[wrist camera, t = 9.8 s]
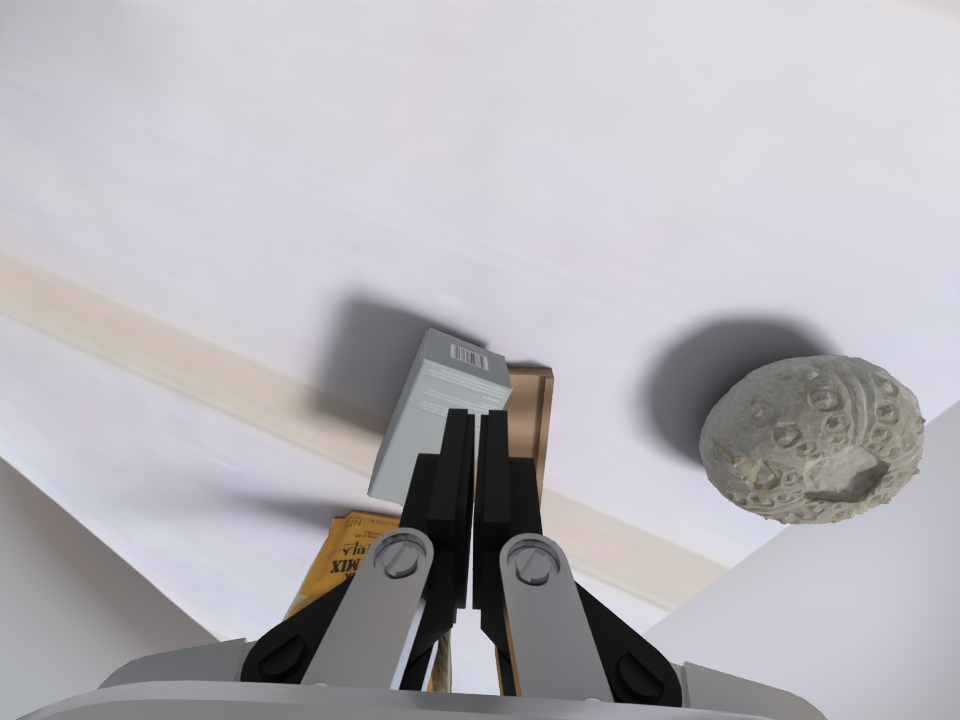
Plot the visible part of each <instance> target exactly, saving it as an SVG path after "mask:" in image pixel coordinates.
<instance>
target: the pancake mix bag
mask: <svg viewBox="0 0 960 720" xmlns="http://www.w3.org/2000/svg"><path fill="white" fill-rule="evenodd" d="M400 520H401V517H394V516H386V515H381V514H376V513H370V512H363V511H350V512H349V514H348V515H347V516H346V517H345V518H332V522H331V526H330V531H329V536H328V538H327V539H326V541H325V542H324V544H323V546H322V547H321V549H320V551H319V553H318V555H317V556H316V558H315V560H314V562H313V563H312V565H311V567H310V569H309V571H308V573H307V575H306V577H305V579H304V581H303V583H302V585H301V587H300V589H299V591H298V593H297V595H296V597H295V599H294V600H293V602H292V604H291V606H290V607H289V609H288V611H287V613H286V615H285V617H284V619H283V621H285V620H286V619H288V618H289V617H291V616H292V615H294V614H295V613H297V612H298V611H300V610H301V609H303V608H304V607H306V606H307V605H309V604H310V603H312V602H313V601H315V600H316V599H318V598H319V597H321V596H322V595H324V594H325V593H327V592H328V591H330V590H331V589H333V588H334V587H336V586H337V585H339V584H340V583H342V582H343V581H345V580H346V579H348V578H349V577H351V576H352V575H354V574H355V573H356V572H357V570H358V568H359V566H360V564H361V562H362V560H363V558H364V556H365V554H366V552H367V550H368V549H369V547H370V546H371V544H372V543H373V541H374V540H376V539H377V538H378V537H379V536H380V535H382V534H383V533H385V532H388V531H390V530H392V529H397V528H398V527H399V523H400ZM283 621H282V622H283ZM450 635H451V629H450V630H449V631H448V632H446V633H445V634H444V635H443V636H442V637H441V638H440V639H439V640H438V648H437V653H436V656H435V660H434V664H433V668H432V671H431V675H430V679H429V683H428V686H427V690H426V691H427V692H445V693H451V685H452V668H451V646H450Z"/></svg>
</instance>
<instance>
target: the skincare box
mask: <svg viewBox="0 0 960 720" xmlns="http://www.w3.org/2000/svg"><path fill="white" fill-rule="evenodd" d="M511 392H512V384H511V380H510V376H509V373H508V369H507V365H506V361H505V357H504V356H501V355H499V354H495V353H493V352H490V351H488V350H485V349H483V348H480V347H478V346H476V345H473V344H471V343H468V342H466V341H463V340H461V339H458V338H456V337H453V336H451V335H448V334H446V333H443V332H441V331H438V330H436V329H434V328H429V329H428V330H427V331H426V332H425V334H424V336H423V339H422V341H421V343H420V346H419V349H418V351H417V354H416V356H415V359H414V361H413V364H412V366H411V369H410V371H409V374H408V377H407V379H406V382H405V384H404V387H403V389H402V392H401V394H400V397H399V400H398V402H397V405H396V407H395V410H394V412H393V415H392V417H391V420H390V423H389V425H388V428H387V430H386V433H385V435H384V438H383V440H382V443H381V446H380V448H379V451H378V454H377V457H376V461H375V465H374V469H373V473H372V476H371V480H370V484H369V489H368V493H367V495H368V496H369V497H373V498H377V499H381V500H386V501H390V502H394V503H398V504H400V505H401V506H403V507H404V505H405V501H406V497H407V493H408V490H409V486H410V482H411V478H412V474H413V471H414V467H415V463H416V459H417V456H418V454H419V453H431V454H440V450H441V445H442V440H443V435H444V430H445V424H446V419H447V414H448V410H449V408H458V409H468V414H475V461H476V459H477V457H478V449H479V435H480V421H481V414H484V415H488V412H489V410H502V409H503V407H504V405H505V403H506V401H507V400H508V398H509V396H510V394H511Z"/></svg>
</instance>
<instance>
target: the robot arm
mask: <svg viewBox="0 0 960 720" xmlns="http://www.w3.org/2000/svg"><path fill="white" fill-rule="evenodd" d="M474 473H475V414H468V409H458V408H449V410H448V414H447V419H446V424H445V430H444V435H443V440H442V445H441V450H440V454H431V453H419V454H418V456H417V459H416V463H415V467H414V471H413V474H412V478H411V482H410V486H409V490H408V493H407V497H406V501H405V505H404V508H403V512H402V516H401V520H400V523H399V527H398V528H397V529H392V530H390V531H388V532H385V533H383V534H382V535H380V536H379V537H378V538H377V539H376V540H374V541H373V543H372V544H371V546H370V547H369V549H368V550H367V552H366V554H365V556H364V558H363V560H362V562H361V564H360V566H359V568H358V570H357V572H356V573H355V574H354V575H352V576H351V577H349V578H348V579H346V580H345V581H343V582H342V583H340V584H339V585H337V586H336V587H334V588H333V589H331V590H330V591H328V592H327V593H325V594H324V595H322V596H321V597H319V598H318V599H316V600H315V601H313V602H312V603H310V604H309V605H307V606H306V607H304V608H303V609H301V610H300V611H298V612H297V613H295V614H294V615H292V616H291V617H289V618H288V619H286V620H285V621H283V622H282V623H280V624H279V625H277V626H276V627H274V628H273V629H271V630H270V631H268V632H267V633H266V634H265V635H264V636H262V637H261V638H260V639H259V640H258V641H253V642H247V640H246V638H240V639H235V640H229V641H224V642H219V643H214V644H208V645H202V646H197V647H192V648H186V649H181V650H175V651H170V652H165V653H159V654H154V655H149V656H144V657H142V658H139V659H136V660H133V661H130V662H129V663H127V664H125V665H124V666H122V667H121V668H119V669H118V670H116V671H115V672H114V673H112V674H111V675H110V676H109V677H108V678H107V679H106V680H105V681H104V682H103V683H102V684H101V685H100V686H99V688H98V689H97V690H95V691H92V692H88V693H84V694H81V695H77V696H74V697H71V698H68V699H65V700H62V701H59V702H57V703H54V704H51V705H48V706H45V707H44V708H41V709H38V710H36V711H34V712H31V713H29V714H27V715H25V716H22V717H20V718H18V719H17V720H827V719H826V718H825V716H824V715H823V714H822V713H821V712H820V711H819V710H818V709H817V708H815V707H814V706H813V705H811V704H810V703H809V702H808V701H806V700H805V699H803V698H801V697H799V696H797V695H794V694H792V693H790V692H787V691H784V690H780V689H777V688H774V687H770V686H767V685H764V684H760V683H757V682H753V681H750V680H746V679H743V678H740V677H736V676H733V675H730V674H726V673H723V672H719V671H716V670H712V669H709V668H705V667H702V666H699V665H695V664H692V663H689V662H684V664H683V666H680V665H677V664H673V663H670V662H669V661H668V660H667V659H666V658H665V657H664V656H663V655H662V654H661V653H660V652H659V651H658V650H657V649H656V648H655V647H653V646H652V645H651V644H650V643H649V642H647V641H646V640H645V639H643V637H641V636H640V635H639V634H638V633H637V632H635V631H634V630H633V629H632V628H631V627H629V626H628V625H627V624H626V623H625V622H623V621H622V620H621V619H620V618H619V617H617V616H616V615H615V614H614V613H613V612H612V611H610V610H609V609H608V608H607V607H606V606H604V605H603V604H602V603H601V602H600V601H598V600H597V599H596V598H595V597H594V596H592V595H591V594H590V593H589V592H588V591H586V590H585V589H584V588H583V587H582V586H580V585H579V584H578V583H577V582H576V581H574V579H573V576H572V573H571V570H570V567H569V564H568V561H567V558H566V556H565V554H564V552H563V550H562V549H561V548H560V547H559V546H558V545H557V544H556V542H554V541H553V540H551V539H549V538H548V537H546V536H543V533H542V524H541V515H540V506H539V497H538V488H537V479H536V469H535V461H534V458H532V457H509V447H508V412H507V410H489V412H488V415H484V414H481V421H480V435H479V449H478V463H477V477H476V491H475V505H474V523H473V609H479V610H481V630H482V631H483V632H484V633H485V634H486V635H487V636H488V637H489V639H490V640H491V641H492V642H493V643H494V644H495V657H496V665H497V672H498V680H499V688H500V696H496V695H479V694H462V693H445V692H427V691H426V690H427V686H428V683H429V679H430V675H431V671H432V668H433V664H434V660H435V656H436V653H437V648H438V640H439V639H440V638H441V637H442V636H443V635H444V634H445V633H446V632H448V631H449V630H450V629H451V628H452V627H453V623H456V614H457V608H459V609H465V608H466V596H467V582H468V569H469V556H470V542H471V529H472V515H473V502H474Z"/></svg>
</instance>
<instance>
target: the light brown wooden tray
mask: <svg viewBox="0 0 960 720" xmlns="http://www.w3.org/2000/svg"><path fill="white" fill-rule="evenodd" d="M507 369H508V373H509V376H510V380H511V384H512V392H511V394H510V396H509V398H508V400H507V401H506V403H505V405H504V407H503V409H502V410H507V412H508V447H509V457H532V458H534V461H535V469H536V479H537V488H538V497H539V506H540V505H541V496H542V487H543V477H544V468H545V459H546V450H547V440H548V431H549V422H550V413H551V403H552V394H553V385H554V376H553V372H552V368H523V367H507ZM477 463H478V457H477V459H476V461H475V473H474V502H475V491H476V477H477Z"/></svg>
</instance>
